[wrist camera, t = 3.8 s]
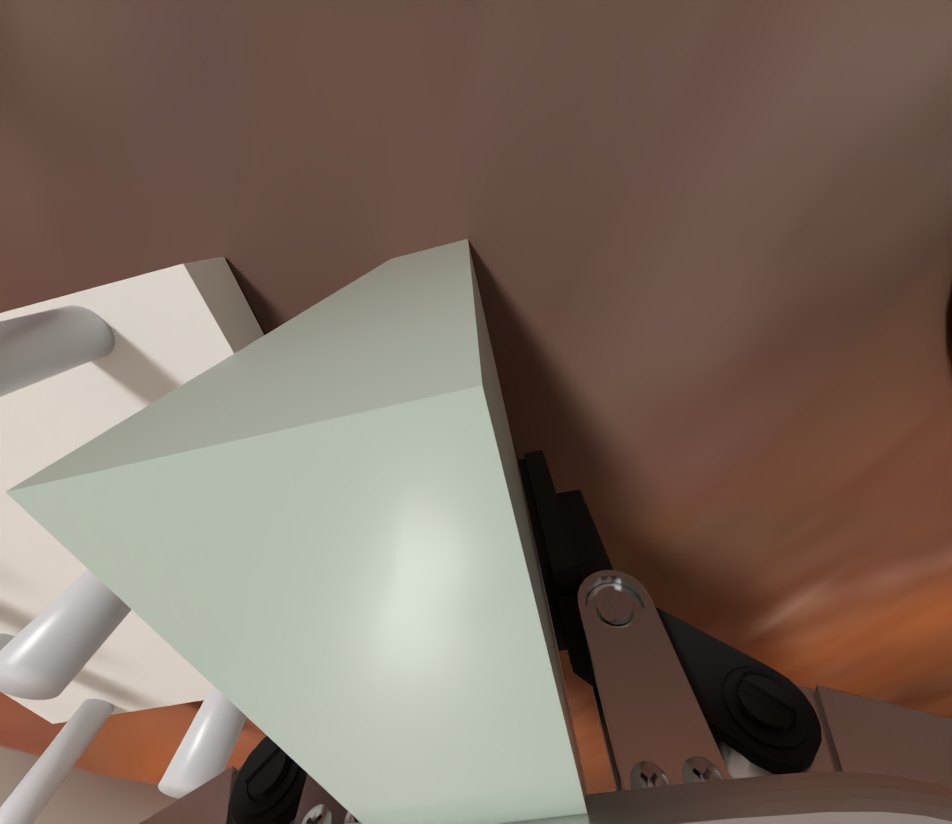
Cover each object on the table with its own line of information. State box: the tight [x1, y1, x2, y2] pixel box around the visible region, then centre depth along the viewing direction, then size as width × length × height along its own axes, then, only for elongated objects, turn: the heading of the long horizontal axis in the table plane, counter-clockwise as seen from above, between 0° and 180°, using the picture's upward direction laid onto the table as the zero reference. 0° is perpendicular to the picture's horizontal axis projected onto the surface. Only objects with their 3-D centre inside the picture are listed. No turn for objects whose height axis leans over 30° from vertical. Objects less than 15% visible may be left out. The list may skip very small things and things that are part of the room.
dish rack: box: [0, 257, 264, 824], centre depth 11 cm, size 17×16×6 cm
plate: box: [6, 239, 588, 824], centre depth 9 cm, size 14×2×9 cm, turn 13°
